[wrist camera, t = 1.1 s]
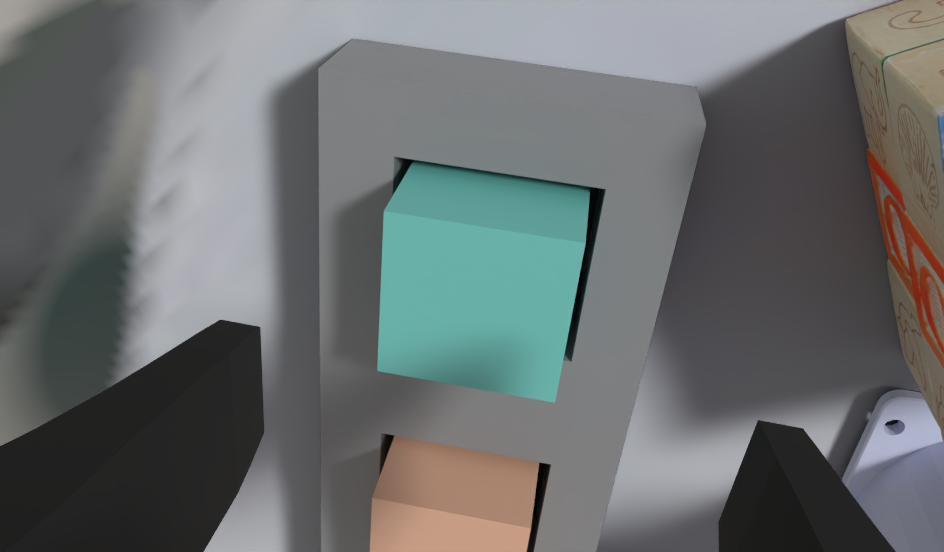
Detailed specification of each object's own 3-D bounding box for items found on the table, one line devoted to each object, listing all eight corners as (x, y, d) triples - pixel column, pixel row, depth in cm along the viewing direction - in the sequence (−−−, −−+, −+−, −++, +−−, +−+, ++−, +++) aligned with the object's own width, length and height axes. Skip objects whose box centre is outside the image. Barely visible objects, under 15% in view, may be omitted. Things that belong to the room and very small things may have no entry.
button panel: (545, 700, 30) (540, 767, 28) (342, 657, 31) (321, 719, 29) (696, 86, 18) (706, 124, 16) (352, 38, 19) (317, 68, 17)
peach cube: (524, 530, 25) (511, 630, 22) (398, 505, 25) (367, 600, 22) (543, 433, 23) (530, 528, 20) (404, 407, 23) (371, 497, 20)
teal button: (564, 315, 20) (555, 402, 18) (412, 290, 21) (377, 371, 18) (591, 172, 18) (585, 243, 15) (421, 146, 19) (383, 211, 16)
